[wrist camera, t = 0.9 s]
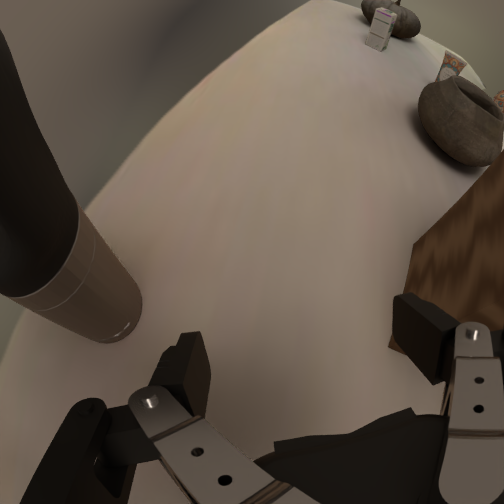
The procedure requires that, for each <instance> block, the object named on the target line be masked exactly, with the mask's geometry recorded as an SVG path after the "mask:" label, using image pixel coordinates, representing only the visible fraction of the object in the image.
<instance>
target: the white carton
mask: <svg viewBox="0 0 504 504" xmlns="http://www.w3.org/2000/svg"><path fill="white" fill-rule="evenodd" d="M396 18H397V14H396V13H394V12H392V11H390V10H388V9H385V8H382V7H381V8H376V11H375V14H374V17H373V21H372V24H371V27H370V30H369V34H368V37H367V40H366V45H368V46H370V47H372V48H374V49H376V50H378V51H380V52H381V51H383V50H384V49H386V47H387V44H388V41H389V38H390V36H391V33H392V30H393V27H394V24H395V21H396Z"/></svg>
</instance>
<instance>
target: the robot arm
mask: <svg viewBox="0 0 504 504" xmlns="http://www.w3.org/2000/svg"><path fill="white" fill-rule="evenodd" d="M0 293H1V294H2V295H5V296H6V297H8V298H10V299H11V300H13V301H15V302H16V303H18V304H20V305H22V306H23V307H25V308H27V309H29V310H31V311H33V312H35V313H37V314H39V315H41V316H42V317H44V318H46V319H48V320H50V321H52V322H54V323H56V324H58V325H60V326H62V327H65V328H67V329H69V330H71V331H73V332H75V333H77V334H79V335H82V336H84V337H86V338H88V339H91V340H93V341H96V342H99V343H112V342H116V341H118V340H121V339H123V338H124V337H125V336H127V335H128V334H129V333H130V332H131V331H132V330H133V329H134V327H135V326H136V324H137V322H138V320H139V317H140V314H141V308H142V298H141V294H140V290H139V288H138V286H137V284H136V283H135V281H134V280H133V279H132V277H131V276H130V275H129V274H128V272H127V271H126V270H125V268H124V267H123V265H122V264H121V263H120V262H119V260H118V259H117V258H116V256H115V255H114V253H113V252H112V251H111V249H110V248H109V247H108V245H107V244H106V242H105V241H104V240H103V238H102V237H101V235H100V234H99V233H98V231H97V230H96V228H95V227H94V225H93V224H92V223H91V221H90V220H89V218H88V217H87V216H86V214H85V213H84V211H83V210H82V208H81V207H80V205H79V203H78V202H77V200H76V199H75V197H74V196H73V194H72V193H71V191H70V190H69V188H68V186H67V184H66V183H65V181H64V178H63V176H62V174H61V172H60V170H59V168H58V165H57V163H56V161H55V159H54V157H53V155H52V153H51V151H50V149H49V147H48V145H47V143H46V141H45V139H44V138H43V136H42V134H41V132H40V129H39V127H38V125H37V123H36V120H35V118H34V116H33V113H32V111H31V108H30V106H29V103H28V100H27V98H26V95H25V92H24V89H23V87H22V84H21V81H20V78H19V75H18V72H17V69H16V66H15V63H14V61H13V58H12V55H11V52H10V49H9V47H8V45H7V42H6V40H5V37H4V35H3V33H2V32H1V30H0ZM392 332H393V337H394V340H395V342H396V343H397V345H398V346H399V347H400V348H401V349H402V350H403V351H404V352H405V354H406V355H407V356H408V357H409V358H410V359H411V360H412V362H413V363H414V364H415V365H416V366H417V367H418V369H419V370H420V371H421V372H422V373H423V374H424V376H425V377H426V378H427V379H428V380H429V381H430V383H431V384H432V385H436V384H438V383H440V382H443V381H445V382H446V383H445V387H444V392H443V399H442V404H441V410H440V415H435V414H425V415H416V414H415V413H414V411H413V410H412V408H411V407H410V408H407V409H404V410H402V411H399V412H396V413H393V414H390V415H387V416H384V417H381V418H379V419H377V420H375V421H373V422H371V423H369V424H367V425H366V426H364V427H362V428H360V429H358V430H356V431H354V432H351V433H348V434H339V435H313V436H305V437H300V438H294V439H288V440H282V441H275V442H274V449H275V452H272V453H269V454H267V455H264V456H262V457H260V458H258V459H256V460H254V461H253V462H252V461H251V460H250V459H249V458H247V457H246V456H245V455H244V454H243V453H241V452H240V451H239V450H238V449H237V448H236V447H234V446H233V445H232V444H231V443H230V442H229V441H228V440H226V439H225V438H224V437H223V436H222V435H221V434H220V433H219V432H218V431H216V430H215V429H214V428H213V427H212V426H211V425H210V424H209V423H208V422H207V421H206V420H205V412H206V406H207V400H208V393H209V387H210V381H211V369H210V364H209V360H208V356H207V353H206V349H205V345H204V342H203V338H202V335H201V333H200V331H196V332H188V333H181V335H180V337H179V340H178V342H177V345H176V346H170V347H169V348H168V349H167V350H166V351H165V352H163V354H162V356H161V358H160V360H159V362H158V365H157V368H156V369H155V371H154V373H153V376H152V378H151V380H150V382H149V385H148V386H147V387H143V388H141V389H139V390H137V391H135V392H134V393H133V394H132V395H131V396H130V398H129V400H128V405H124V406H119V407H114V408H109V409H107V407H106V405H105V403H104V401H103V400H101V399H99V398H87V399H84V400H81V401H79V402H77V403H76V404H75V405H74V406H73V407H72V408H71V409H70V411H69V412H68V414H67V416H66V418H65V419H64V421H63V423H62V424H61V426H60V428H59V430H58V431H57V433H56V435H55V437H54V438H53V440H52V442H51V444H50V446H49V447H48V449H47V451H46V453H45V455H44V456H43V458H42V460H41V462H40V464H39V466H38V468H37V470H36V472H35V473H34V475H33V477H32V479H31V481H30V483H29V485H28V487H27V489H26V491H25V493H24V495H23V497H22V500H21V502H20V504H127V503H128V499H129V495H130V491H131V486H132V482H133V478H134V474H135V470H136V466H137V464H138V463H143V462H148V461H153V460H159V461H160V463H161V464H162V465H163V467H164V468H165V470H166V471H167V472H168V474H169V475H170V476H171V478H172V479H173V480H174V482H175V483H176V484H177V486H178V487H179V488H180V490H181V491H182V492H183V493H184V495H185V496H186V497H187V499H188V500H189V501H190V503H191V504H504V326H503V329H501V330H496V331H490V330H489V328H488V327H487V326H485V325H484V324H481V323H478V322H465V323H460V322H459V321H458V320H456V319H455V318H453V317H452V316H451V315H449V314H448V313H446V312H445V311H444V310H442V309H440V308H439V307H438V306H437V305H435V304H434V303H431V302H428V301H425V300H422V299H421V298H419V297H418V296H417V295H415V294H414V293H412V292H408V293H404V294H400V295H396V296H395V297H394V299H393V323H392ZM96 458H97V459H96ZM95 460H96V462H95ZM94 463H95V465H94Z"/></svg>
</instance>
